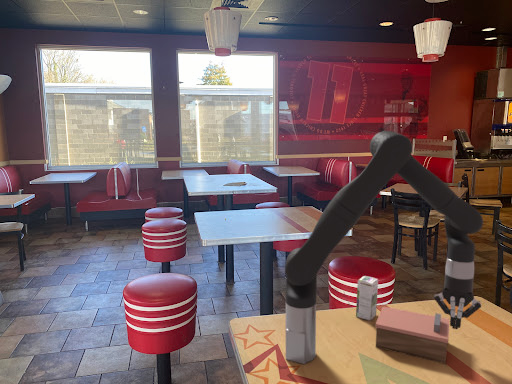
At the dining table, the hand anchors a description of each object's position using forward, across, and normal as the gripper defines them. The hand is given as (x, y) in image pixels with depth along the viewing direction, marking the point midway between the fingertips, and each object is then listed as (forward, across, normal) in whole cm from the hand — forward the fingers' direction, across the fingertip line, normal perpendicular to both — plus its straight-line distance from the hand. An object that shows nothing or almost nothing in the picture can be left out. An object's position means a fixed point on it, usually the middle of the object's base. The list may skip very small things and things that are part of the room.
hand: (455, 327), depth 116 cm
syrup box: (+9, -29, +13) cm, 33 cm away
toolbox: (+9, -12, 0) cm, 15 cm away
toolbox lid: (+2, -12, 0) cm, 12 cm away
